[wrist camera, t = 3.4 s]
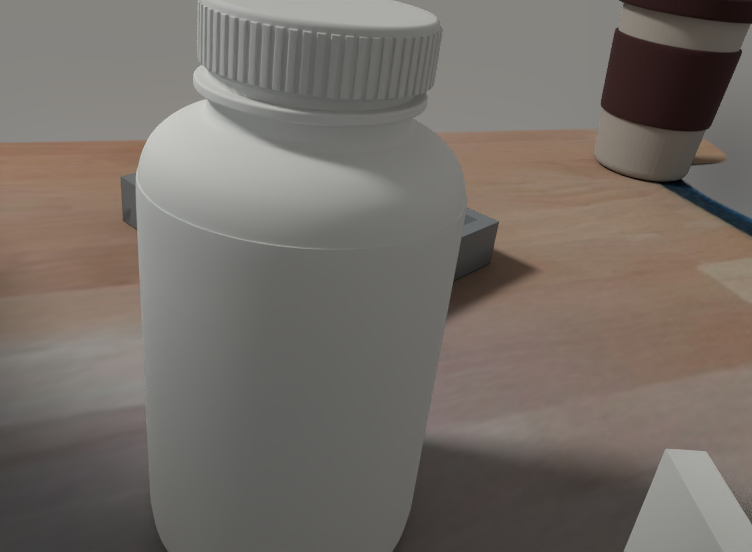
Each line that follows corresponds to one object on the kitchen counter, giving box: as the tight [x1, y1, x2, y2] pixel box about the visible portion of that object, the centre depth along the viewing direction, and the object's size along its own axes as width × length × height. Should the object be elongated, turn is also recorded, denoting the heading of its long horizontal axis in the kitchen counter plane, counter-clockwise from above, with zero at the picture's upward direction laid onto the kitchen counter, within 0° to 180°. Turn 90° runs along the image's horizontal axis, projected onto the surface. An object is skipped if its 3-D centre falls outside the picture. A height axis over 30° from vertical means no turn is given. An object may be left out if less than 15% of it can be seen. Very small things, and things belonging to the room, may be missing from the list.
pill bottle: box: [136, 0, 467, 552], centre depth 19 cm, size 8×8×15 cm
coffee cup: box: [594, 0, 752, 182], centre depth 53 cm, size 10×10×15 cm
